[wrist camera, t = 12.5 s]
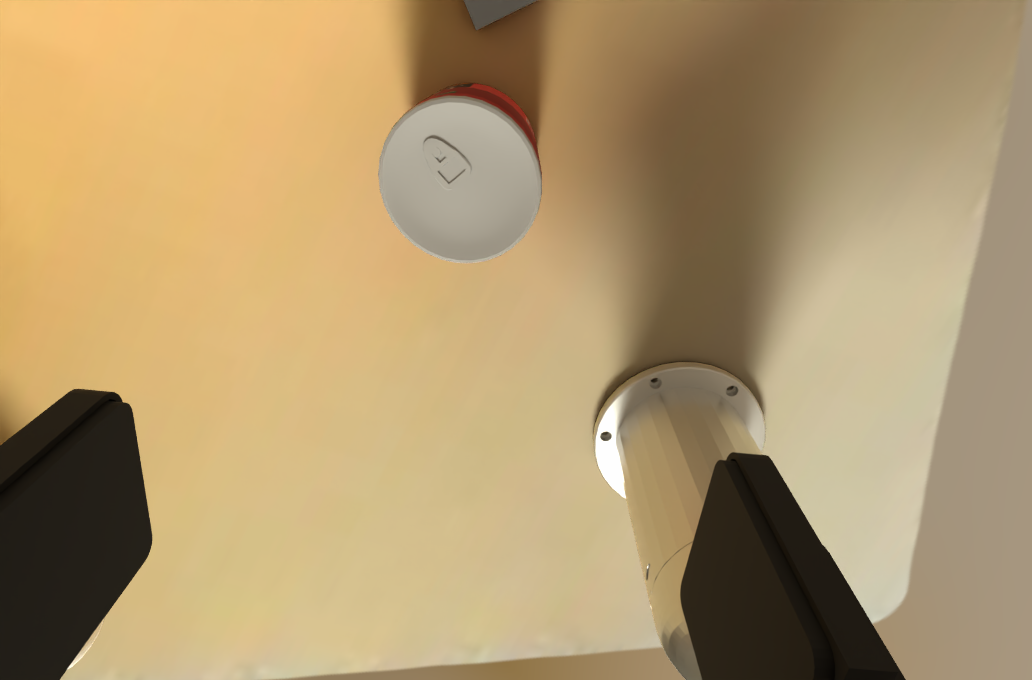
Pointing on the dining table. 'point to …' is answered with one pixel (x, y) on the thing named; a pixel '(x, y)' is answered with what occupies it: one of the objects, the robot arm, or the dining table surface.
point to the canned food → (462, 174)
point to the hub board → (493, 10)
